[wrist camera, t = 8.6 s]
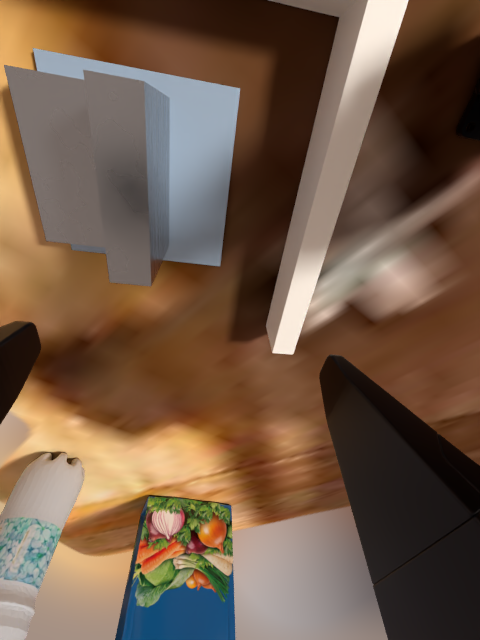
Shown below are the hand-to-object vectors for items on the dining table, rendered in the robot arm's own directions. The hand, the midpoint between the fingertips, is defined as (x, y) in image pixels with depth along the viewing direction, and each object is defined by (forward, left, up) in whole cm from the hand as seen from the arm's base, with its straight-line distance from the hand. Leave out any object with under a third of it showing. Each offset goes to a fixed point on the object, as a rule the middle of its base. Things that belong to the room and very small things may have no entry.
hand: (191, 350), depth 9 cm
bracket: (+5, -3, -12) cm, 13 cm away
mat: (+4, -3, -12) cm, 13 cm away
